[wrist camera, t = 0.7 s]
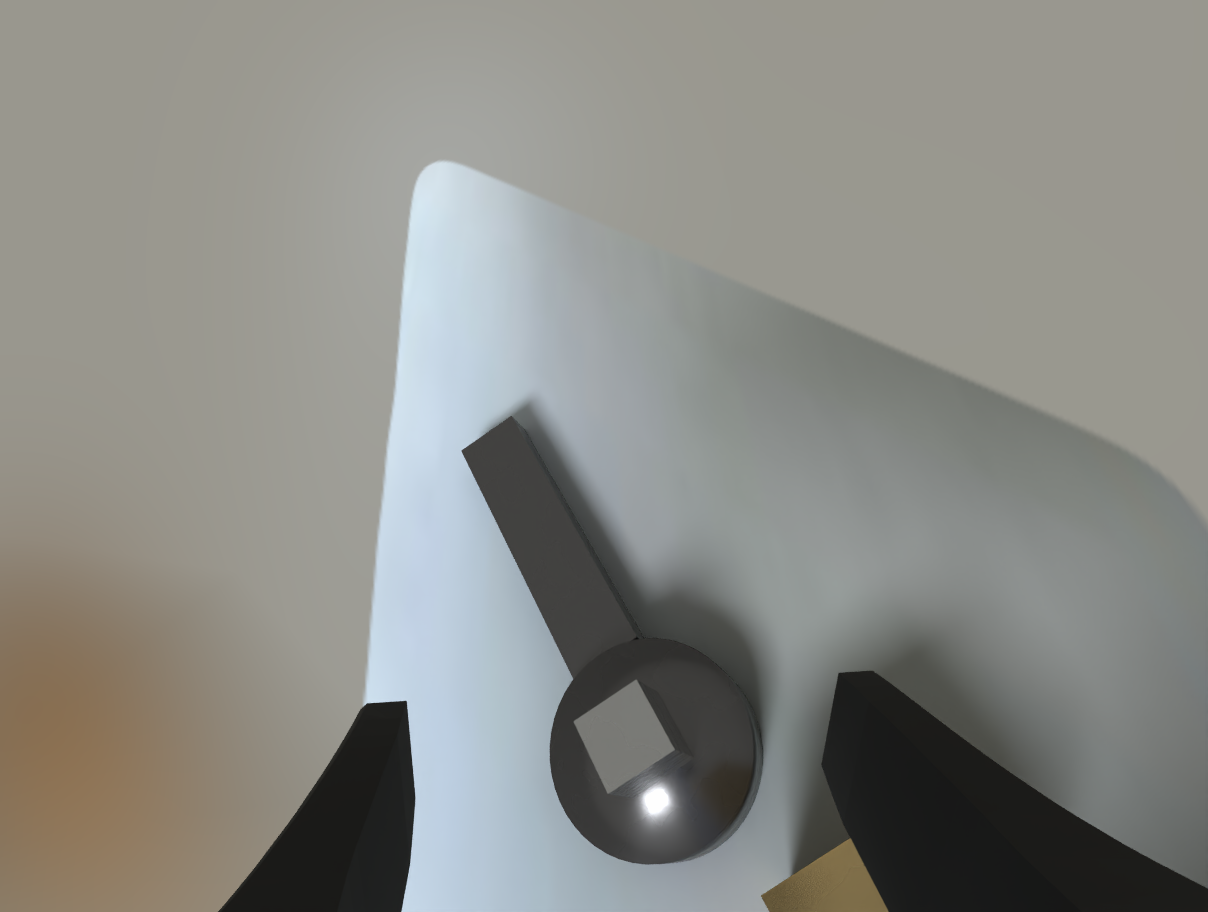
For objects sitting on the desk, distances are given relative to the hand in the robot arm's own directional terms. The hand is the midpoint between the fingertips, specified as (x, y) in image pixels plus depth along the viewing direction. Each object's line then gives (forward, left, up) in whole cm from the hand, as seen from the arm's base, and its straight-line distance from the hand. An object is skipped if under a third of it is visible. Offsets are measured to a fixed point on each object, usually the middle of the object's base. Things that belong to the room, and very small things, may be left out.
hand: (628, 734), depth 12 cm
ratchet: (+9, +3, -15) cm, 17 cm away
